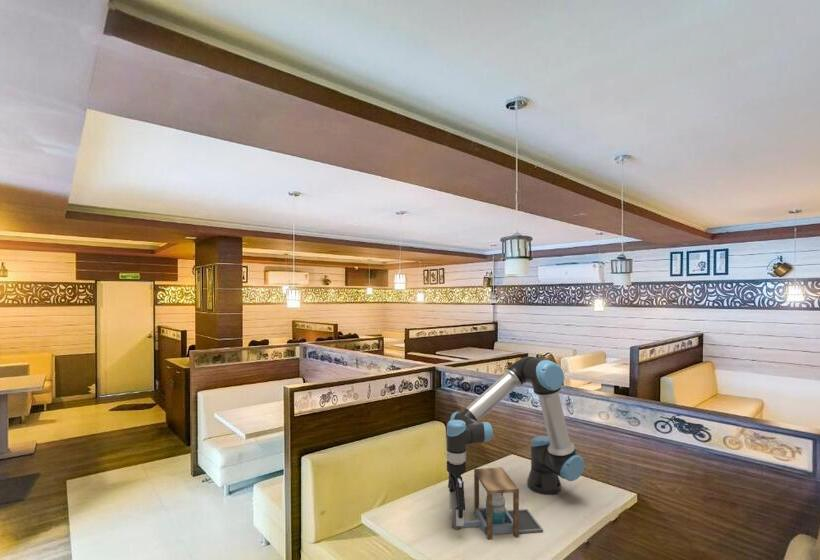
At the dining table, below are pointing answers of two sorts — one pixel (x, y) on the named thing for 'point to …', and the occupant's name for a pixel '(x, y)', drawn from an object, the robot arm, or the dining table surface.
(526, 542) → the dining table surface
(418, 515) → the dining table surface
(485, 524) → the grey frame on stick
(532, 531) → the dark grey flat plate
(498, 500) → the pill bottle
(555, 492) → the robot arm
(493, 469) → the tunnel
